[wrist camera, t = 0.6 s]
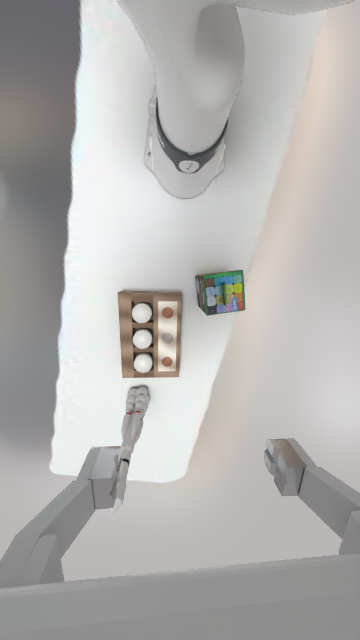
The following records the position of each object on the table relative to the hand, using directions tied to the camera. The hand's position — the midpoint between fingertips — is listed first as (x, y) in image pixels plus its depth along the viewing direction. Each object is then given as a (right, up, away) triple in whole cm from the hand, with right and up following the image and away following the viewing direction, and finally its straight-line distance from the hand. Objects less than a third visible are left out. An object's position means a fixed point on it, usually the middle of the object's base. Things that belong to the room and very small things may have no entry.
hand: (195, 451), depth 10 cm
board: (-9, +3, +42) cm, 43 cm away
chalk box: (+8, +16, +40) cm, 44 cm away
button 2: (-11, +10, +37) cm, 40 cm away
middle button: (-11, +3, +39) cm, 41 cm away
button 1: (-11, -4, +41) cm, 43 cm away
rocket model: (-14, -16, +47) cm, 51 cm away
